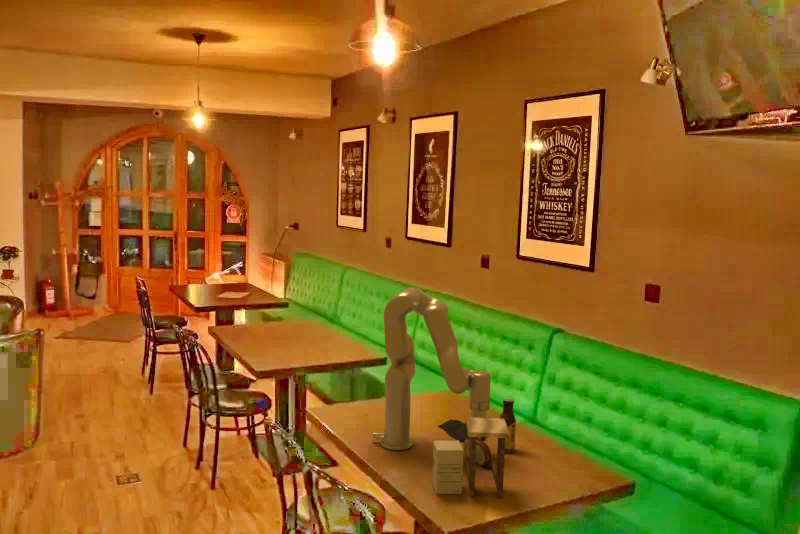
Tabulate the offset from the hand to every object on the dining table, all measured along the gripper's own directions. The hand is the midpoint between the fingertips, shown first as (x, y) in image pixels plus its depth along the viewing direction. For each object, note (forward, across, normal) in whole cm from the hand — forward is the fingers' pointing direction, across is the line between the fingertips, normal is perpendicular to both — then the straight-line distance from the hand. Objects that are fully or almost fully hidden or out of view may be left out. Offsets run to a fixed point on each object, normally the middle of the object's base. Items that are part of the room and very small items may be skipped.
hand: (477, 451), depth 258 cm
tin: (+1, +7, -1) cm, 7 cm away
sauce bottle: (+1, -5, +12) cm, 13 cm away
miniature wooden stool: (+1, +30, 0) cm, 30 cm away
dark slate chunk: (+2, -22, -4) cm, 22 cm away
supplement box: (+1, +31, -13) cm, 34 cm away
